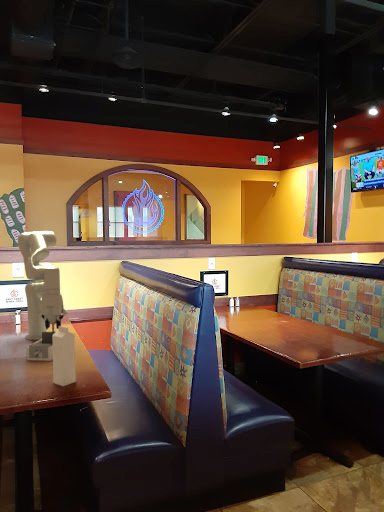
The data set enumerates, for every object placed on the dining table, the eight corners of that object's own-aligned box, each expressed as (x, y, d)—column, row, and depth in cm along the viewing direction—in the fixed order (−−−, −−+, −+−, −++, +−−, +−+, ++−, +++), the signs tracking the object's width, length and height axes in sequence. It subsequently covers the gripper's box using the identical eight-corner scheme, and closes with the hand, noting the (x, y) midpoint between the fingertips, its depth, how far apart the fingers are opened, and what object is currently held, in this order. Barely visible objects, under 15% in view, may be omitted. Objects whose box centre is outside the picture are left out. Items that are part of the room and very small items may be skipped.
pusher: (43, 348, 202) (42, 331, 202) (59, 349, 202) (59, 331, 201) (26, 359, 185) (25, 340, 185) (44, 359, 185) (43, 341, 184)
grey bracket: (46, 347, 210) (46, 333, 209) (68, 347, 209) (68, 334, 208) (26, 360, 189) (26, 345, 188) (50, 360, 188) (50, 345, 187)
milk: (66, 378, 164) (65, 324, 163) (75, 382, 161) (74, 326, 159) (53, 383, 159) (51, 327, 158) (62, 386, 156) (61, 329, 155)
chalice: (52, 339, 209) (51, 304, 208) (63, 340, 207) (62, 304, 206) (43, 342, 202) (41, 306, 201) (54, 343, 200) (53, 307, 199)
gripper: (32, 292, 200) (33, 329, 201) (65, 293, 198) (66, 330, 199) (39, 290, 207) (40, 326, 208) (71, 290, 206) (72, 326, 207)
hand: (53, 327), depth 204 cm, fingers closed on chalice, 4 cm apart
